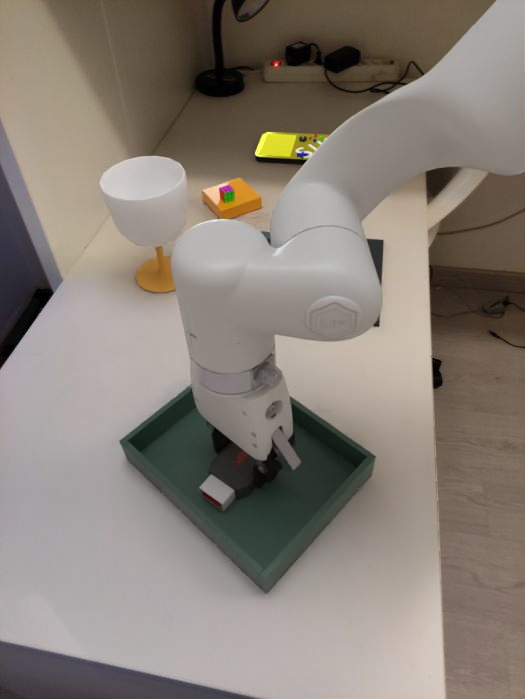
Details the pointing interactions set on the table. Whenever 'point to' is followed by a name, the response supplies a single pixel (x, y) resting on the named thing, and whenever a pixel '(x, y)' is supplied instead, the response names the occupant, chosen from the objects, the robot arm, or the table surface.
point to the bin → (262, 504)
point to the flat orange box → (231, 199)
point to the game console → (288, 147)
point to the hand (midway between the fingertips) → (246, 460)
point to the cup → (148, 210)
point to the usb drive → (230, 476)
